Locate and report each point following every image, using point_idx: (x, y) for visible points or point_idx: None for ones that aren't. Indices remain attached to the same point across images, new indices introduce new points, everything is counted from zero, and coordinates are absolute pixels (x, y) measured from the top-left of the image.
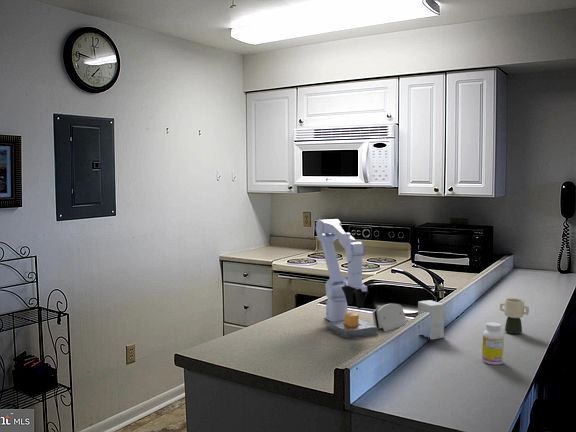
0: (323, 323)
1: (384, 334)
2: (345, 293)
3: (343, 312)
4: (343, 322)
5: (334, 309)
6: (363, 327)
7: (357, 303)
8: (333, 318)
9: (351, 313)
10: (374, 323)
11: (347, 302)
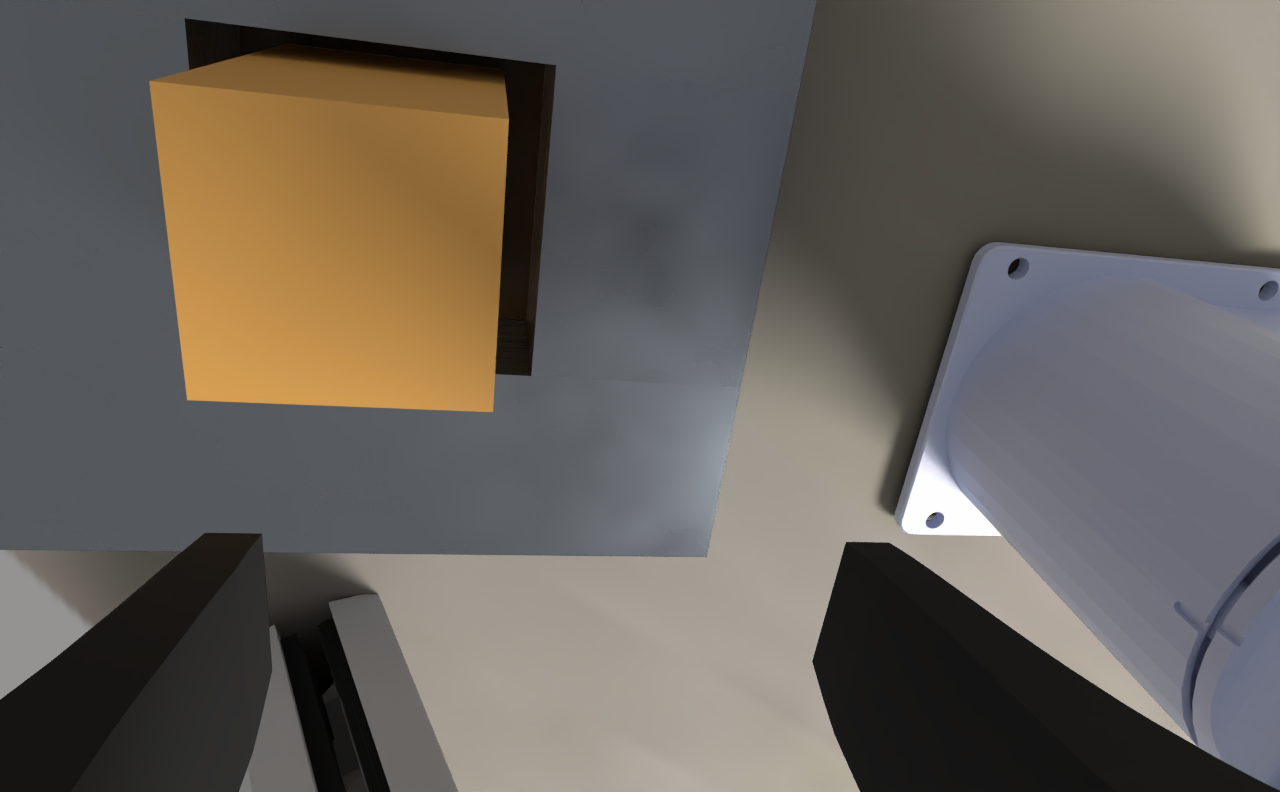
0: (1132, 60)
1: (12, 552)
2: (1141, 785)
3: (1030, 486)
4: (608, 140)
5: (1213, 373)
6: (14, 272)
7: (116, 627)
8: (1099, 293)
9: (451, 336)
10: (387, 653)
11: (873, 565)
